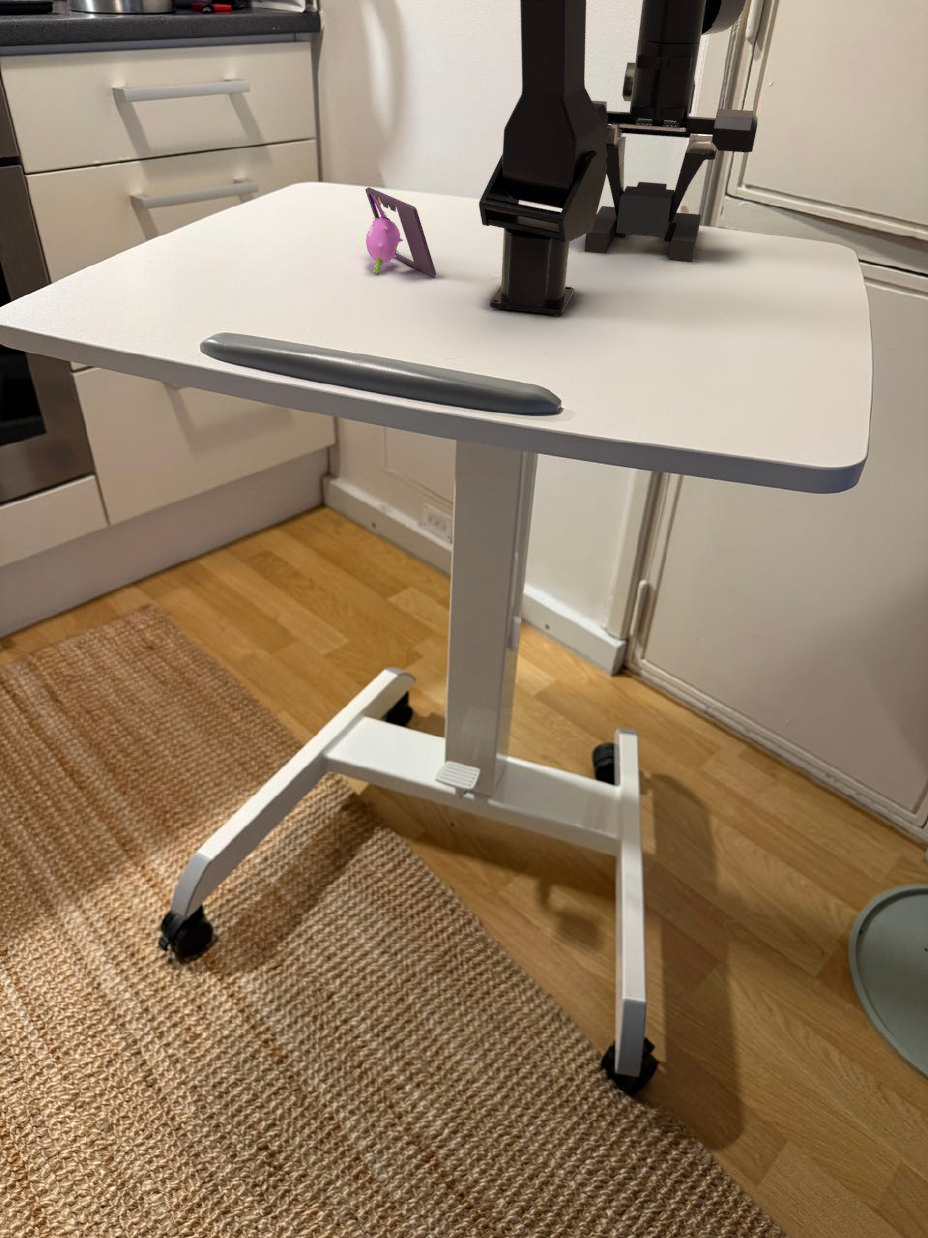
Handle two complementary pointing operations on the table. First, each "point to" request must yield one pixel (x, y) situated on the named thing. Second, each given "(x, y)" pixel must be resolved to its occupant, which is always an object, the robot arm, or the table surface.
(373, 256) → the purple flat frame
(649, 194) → the pad piece
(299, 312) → the table surface
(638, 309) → the table surface
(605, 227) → the base pad
